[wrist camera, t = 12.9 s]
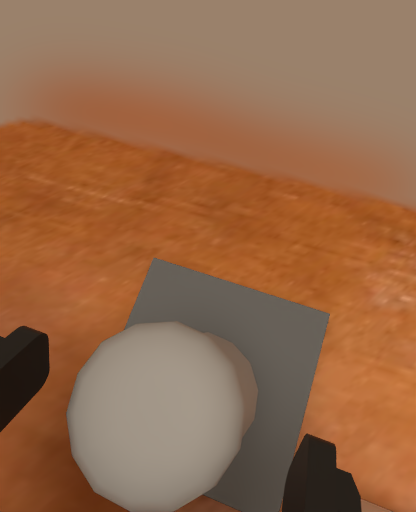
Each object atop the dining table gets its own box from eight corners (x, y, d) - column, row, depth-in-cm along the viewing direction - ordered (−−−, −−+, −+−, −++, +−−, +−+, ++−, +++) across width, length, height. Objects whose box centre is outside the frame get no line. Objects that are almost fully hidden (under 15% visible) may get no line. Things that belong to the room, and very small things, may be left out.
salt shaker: (132, 419, 20) (-35, 485, 8) (176, 321, 22) (93, 248, 9) (232, 469, 19) (217, 638, 7) (271, 362, 20) (318, 341, 8)
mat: (82, 439, 21) (78, 440, 20) (155, 260, 24) (153, 257, 23) (274, 521, 19) (275, 526, 18) (327, 315, 22) (329, 314, 21)
